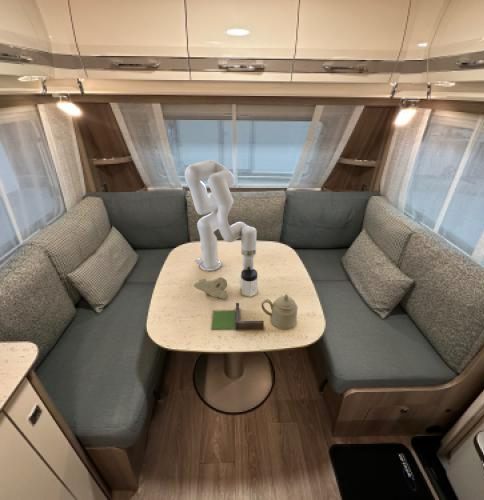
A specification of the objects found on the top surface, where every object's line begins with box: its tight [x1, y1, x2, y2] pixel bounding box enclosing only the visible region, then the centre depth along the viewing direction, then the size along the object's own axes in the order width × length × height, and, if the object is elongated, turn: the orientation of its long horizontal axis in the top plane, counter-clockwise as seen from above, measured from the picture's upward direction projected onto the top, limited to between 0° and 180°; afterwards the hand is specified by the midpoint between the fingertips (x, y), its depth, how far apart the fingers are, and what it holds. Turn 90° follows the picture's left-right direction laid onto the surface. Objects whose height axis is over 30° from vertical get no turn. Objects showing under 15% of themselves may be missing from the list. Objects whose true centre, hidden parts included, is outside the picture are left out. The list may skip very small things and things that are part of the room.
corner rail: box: [235, 302, 265, 331], centre depth 121 cm, size 12×13×4 cm
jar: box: [240, 268, 259, 298], centre depth 136 cm, size 9×8×12 cm
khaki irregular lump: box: [193, 276, 228, 300], centre depth 136 cm, size 15×7×15 cm
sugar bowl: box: [260, 294, 299, 330], centre depth 117 cm, size 15×11×15 cm
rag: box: [211, 310, 236, 330], centre depth 121 cm, size 10×11×1 cm
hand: (248, 279), depth 144 cm, fingers closed
